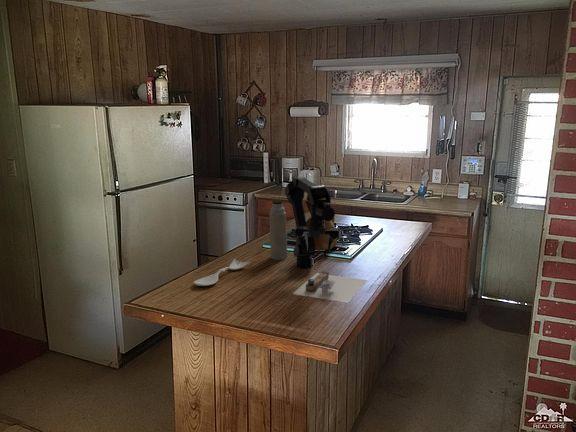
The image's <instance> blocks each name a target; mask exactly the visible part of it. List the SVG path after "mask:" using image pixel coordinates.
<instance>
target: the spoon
mask: <svg viewBox="0 0 576 432" xmlns="http://www.w3.org/2000/svg"><path fill="white" fill-rule="evenodd" d="M250 263H251V261H244V262H242V261H240V260H238V259H236V258H234V259H233V260H232V262H230V264H229V266H226V267H224V268H220V269H218V271H216V272H215V273H213V274H211V275H207V276H205V277H202V278H201V277H200V278H198V279H196V280H194V281H193V283H192V284H194V286H198V287H208V286H212V285H215V284H216V283H217V282H218V281H219V274H221V273H224V272H226V271H227V270H231V271H237V270H241V269H242V268H244V267H247V266H248V265H249V264H250Z"/></svg>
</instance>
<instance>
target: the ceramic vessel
mask: <svg viewBox="0 0 576 432" xmlns="http://www.w3.org/2000/svg"><path fill="white" fill-rule="evenodd" d="M320 200H323V199H320ZM304 201H305V205H306V207H307V210H308V212H309V214H310V215H311V203H309V201H310V199H309V198H308V196H307V195H306V196H304ZM335 221H336V220H335V217H334V218H333V219H332V220H331V221H325V226H326V230H330V229H331V228H335ZM310 223H311V216H310V217H308V218H307V219H306V224H307V229H309V226H310ZM329 237H330V236H329V235H328V234H323V235H321V237H319V238H317V237H314V242H315V244H316V250H328V244H329ZM338 244H339V243H338V240H337V238H336V239H334V240H333V242H332V245H331V248H330V249H332V248H333V247H335V246H336V245H337V246H338ZM332 250H333V249H332Z"/></svg>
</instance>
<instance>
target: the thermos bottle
mask: <svg viewBox="0 0 576 432" xmlns="http://www.w3.org/2000/svg"><path fill="white" fill-rule="evenodd" d="M271 203H272V204H271V205H272V206H271V207H270V212H269V214H268V215H269V239H270V240H269V241H270V258H271V259H272V260H278V261H279V260H286V259H287V258H288V234H287V212H286V211H285V210H286V209H285V207H284V206H283V203H284V202H283V201H282V200H273V201H271Z"/></svg>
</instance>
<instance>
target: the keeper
mask: <svg viewBox="0 0 576 432" xmlns="http://www.w3.org/2000/svg"><path fill="white" fill-rule="evenodd" d="M334 284H335V281H332V280H324V281H323V283H322V284H321V285H320V288H322V295H323V296H329V295H330V289H332V287H333V285H334Z"/></svg>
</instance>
